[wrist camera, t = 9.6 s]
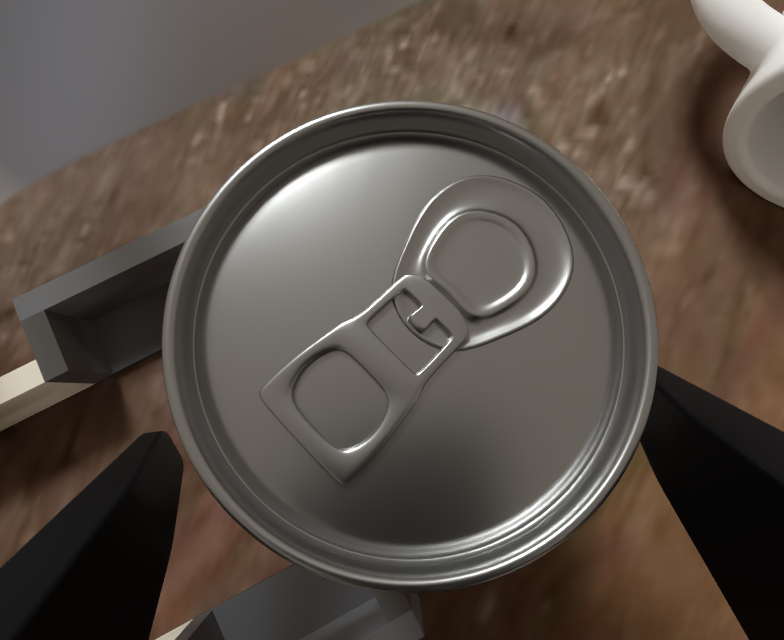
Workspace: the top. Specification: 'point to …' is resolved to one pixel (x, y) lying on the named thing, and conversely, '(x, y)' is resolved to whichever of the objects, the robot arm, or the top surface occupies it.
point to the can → (409, 346)
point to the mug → (752, 90)
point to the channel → (131, 345)
